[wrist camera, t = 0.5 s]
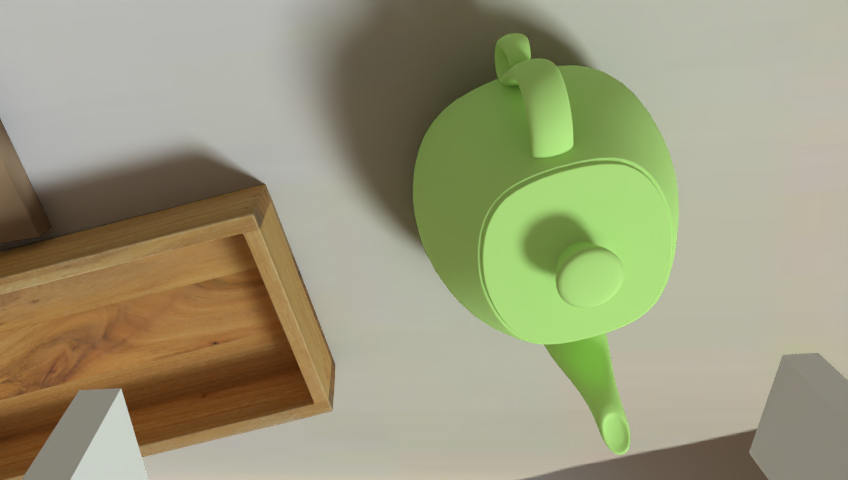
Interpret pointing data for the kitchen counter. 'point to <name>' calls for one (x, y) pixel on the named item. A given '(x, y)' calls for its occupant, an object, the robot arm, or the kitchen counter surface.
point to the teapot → (551, 213)
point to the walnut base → (17, 197)
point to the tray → (161, 328)
